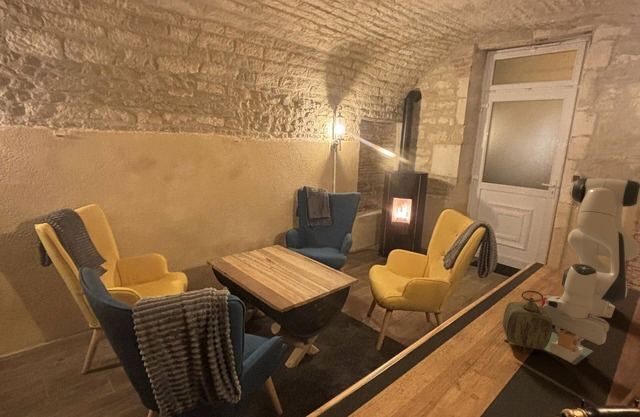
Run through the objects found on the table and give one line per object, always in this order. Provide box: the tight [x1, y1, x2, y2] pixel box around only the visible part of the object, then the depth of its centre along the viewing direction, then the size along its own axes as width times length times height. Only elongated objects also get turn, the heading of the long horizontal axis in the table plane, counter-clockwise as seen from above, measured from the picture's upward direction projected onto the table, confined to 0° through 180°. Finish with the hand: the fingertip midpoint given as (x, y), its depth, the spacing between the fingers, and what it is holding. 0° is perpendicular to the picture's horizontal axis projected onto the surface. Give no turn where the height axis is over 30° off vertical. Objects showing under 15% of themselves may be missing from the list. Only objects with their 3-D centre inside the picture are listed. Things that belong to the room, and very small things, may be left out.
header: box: [549, 341, 583, 363], centre depth 125 cm, size 9×7×4 cm
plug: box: [557, 329, 579, 351], centre depth 124 cm, size 6×4×8 cm, turn 122°
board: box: [543, 331, 594, 366], centre depth 131 cm, size 16×20×1 cm
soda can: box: [540, 294, 555, 307], centre depth 147 cm, size 7×7×12 cm
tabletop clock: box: [502, 290, 553, 354], centre depth 125 cm, size 14×9×25 cm, turn 71°
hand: (567, 341), depth 124 cm, fingers closed on plug, 4 cm apart
